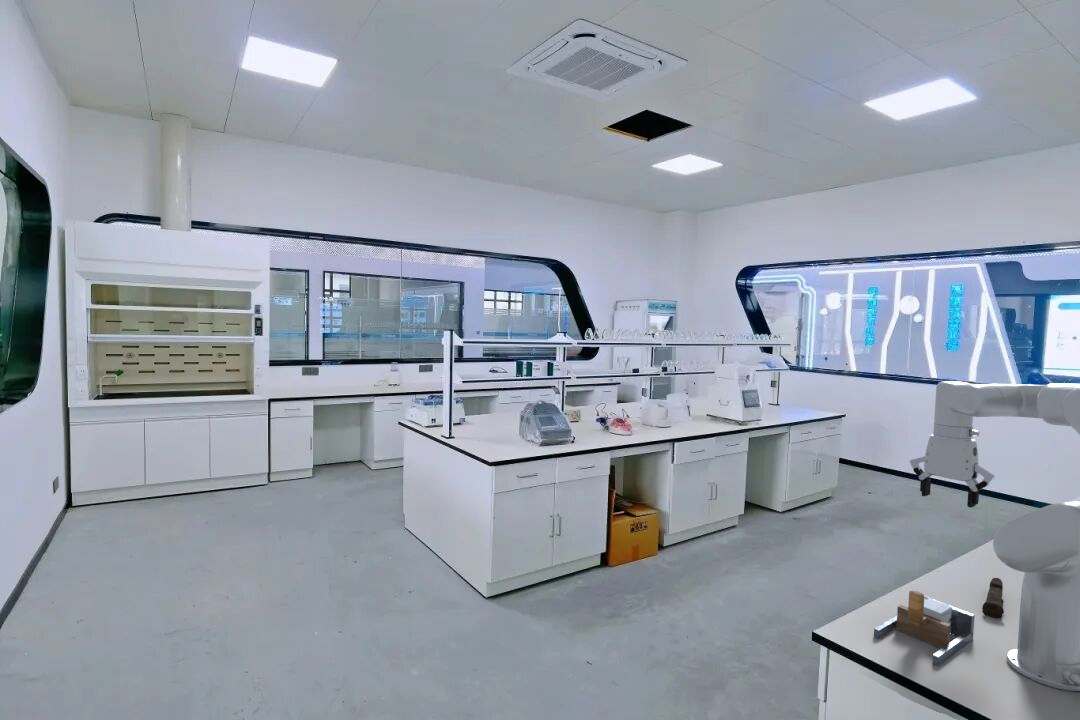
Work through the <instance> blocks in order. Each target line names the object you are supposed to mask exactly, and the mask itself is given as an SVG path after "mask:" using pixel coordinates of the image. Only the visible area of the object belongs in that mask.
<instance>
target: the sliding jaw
mask: <svg viewBox="0 0 1080 720" xmlns="http://www.w3.org/2000/svg"><path fill="white" fill-rule="evenodd" d="M924 596H925V594H924V593H922V592H920V591H917V590H910V591H909V592H908V605H907V606H908V607H907V606H905V605H902V604H899V605H898V606H897V608H896V609H897V612H896V616H897V626H896V629H895V630H897V631H900V632H901V633H904V634H907V635H909V636H911V637H913V638H916V639H919V640H920V641H923V642H926V643H927V644H930V645H931V646H932V645H933V646H934V647H937V648H939V649H941V648H943V647H944V646H946V645H947V644H949V643H950V642H951V641H950V640H951V634H950V627H951V624H948V623H946V622H943V621H941V620H938V619H936V618H933V617H931V616H928V615H926V614H923V612H924Z"/></svg>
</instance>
